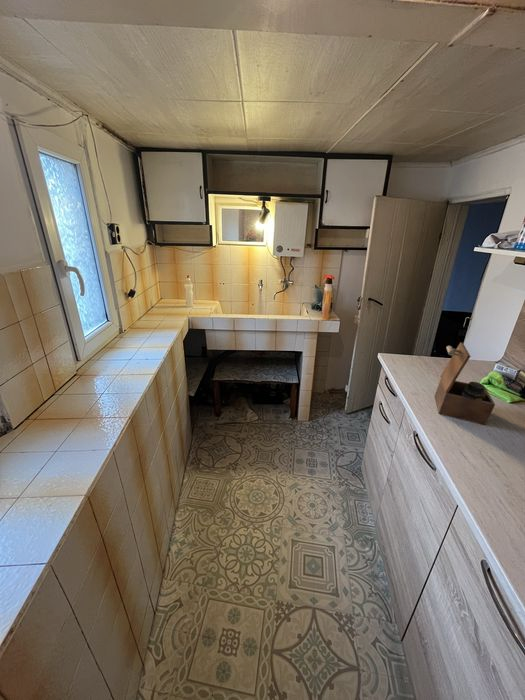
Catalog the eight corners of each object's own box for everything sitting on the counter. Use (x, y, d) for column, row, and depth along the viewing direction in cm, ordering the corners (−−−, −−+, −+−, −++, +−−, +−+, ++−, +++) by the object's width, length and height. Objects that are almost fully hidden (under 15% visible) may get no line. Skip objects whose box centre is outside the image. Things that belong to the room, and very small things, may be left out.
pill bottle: (472, 417, 101) (483, 391, 97) (454, 408, 106) (463, 383, 101) (478, 411, 105) (490, 386, 100) (460, 403, 109) (470, 378, 104)
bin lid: (462, 342, 103) (447, 338, 104) (470, 356, 92) (453, 350, 94) (442, 377, 110) (428, 372, 112) (447, 393, 100) (432, 387, 101)
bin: (476, 405, 109) (485, 386, 106) (485, 425, 99) (495, 404, 95) (434, 396, 114) (441, 377, 111) (438, 413, 104) (446, 393, 100)
